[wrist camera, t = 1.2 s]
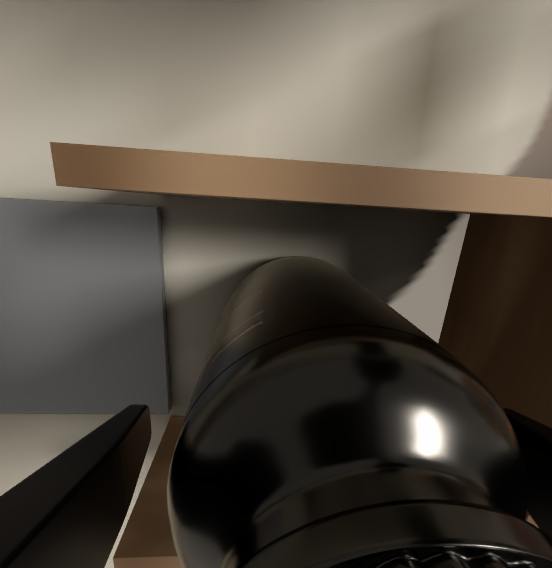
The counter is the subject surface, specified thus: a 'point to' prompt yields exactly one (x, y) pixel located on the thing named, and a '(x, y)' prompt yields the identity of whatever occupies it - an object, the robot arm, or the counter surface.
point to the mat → (81, 308)
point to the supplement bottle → (342, 440)
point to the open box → (376, 194)
